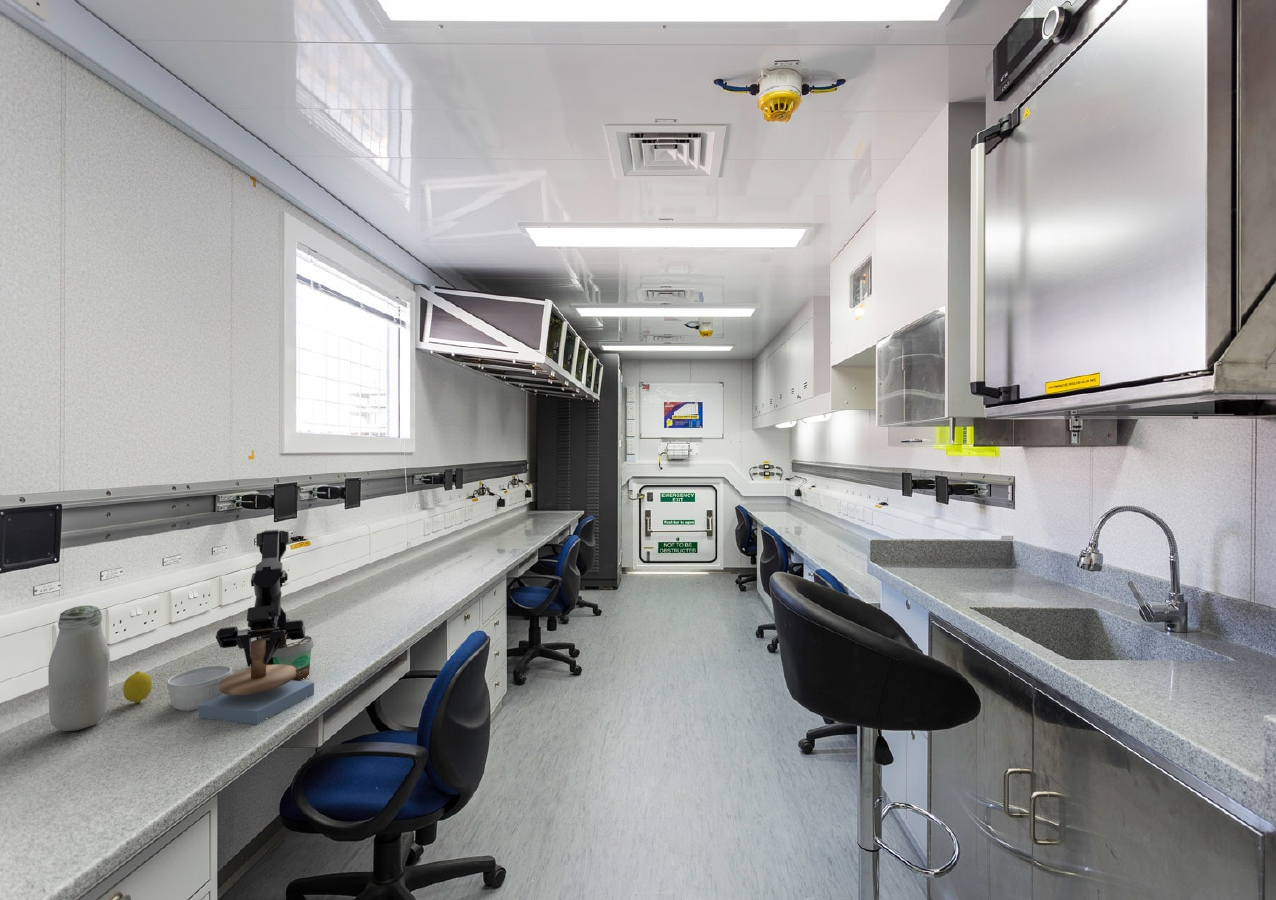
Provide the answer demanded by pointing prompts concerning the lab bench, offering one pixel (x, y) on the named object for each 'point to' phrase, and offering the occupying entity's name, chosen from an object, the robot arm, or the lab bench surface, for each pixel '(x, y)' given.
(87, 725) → the glass bottle
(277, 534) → the robot arm
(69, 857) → the lab bench surface
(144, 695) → the lemon
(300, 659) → the food container
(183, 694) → the ramekin
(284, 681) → the lid
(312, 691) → the mat
